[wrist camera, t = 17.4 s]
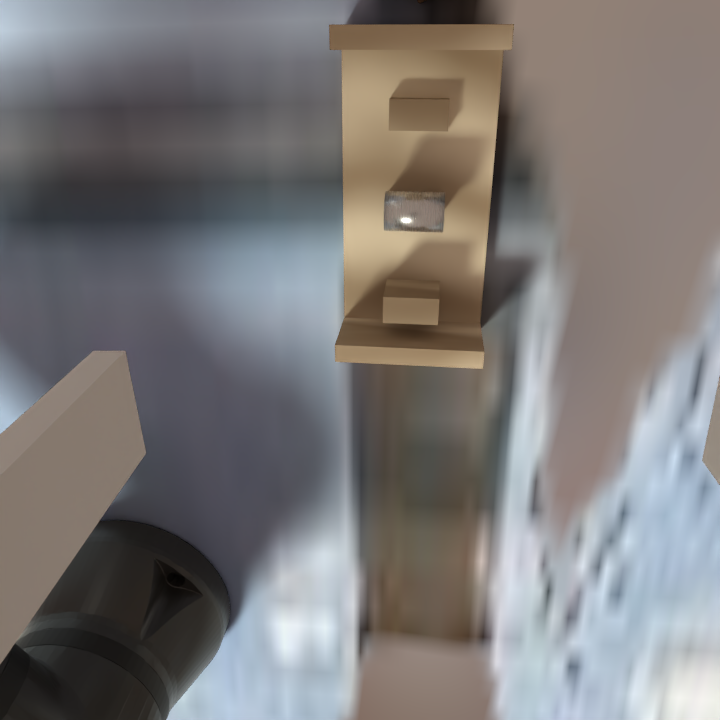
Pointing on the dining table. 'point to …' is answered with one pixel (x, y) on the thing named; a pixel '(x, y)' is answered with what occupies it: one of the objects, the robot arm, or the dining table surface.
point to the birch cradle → (417, 188)
